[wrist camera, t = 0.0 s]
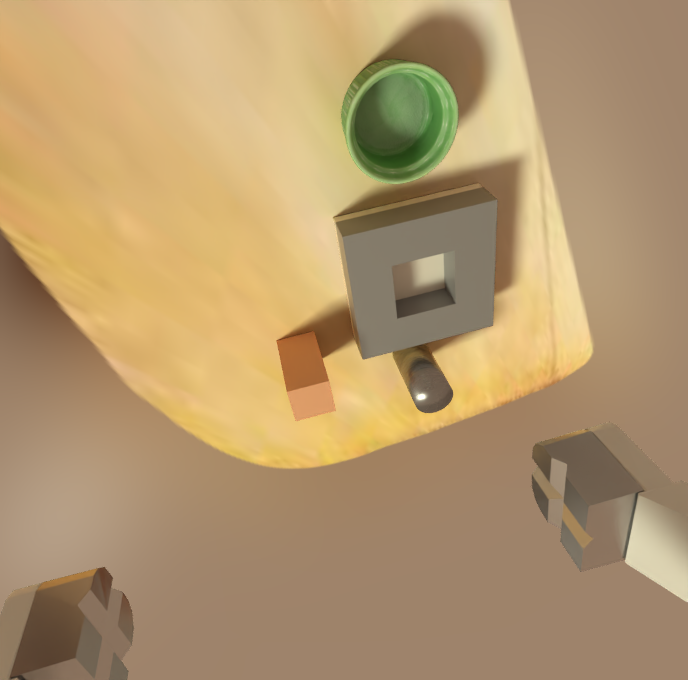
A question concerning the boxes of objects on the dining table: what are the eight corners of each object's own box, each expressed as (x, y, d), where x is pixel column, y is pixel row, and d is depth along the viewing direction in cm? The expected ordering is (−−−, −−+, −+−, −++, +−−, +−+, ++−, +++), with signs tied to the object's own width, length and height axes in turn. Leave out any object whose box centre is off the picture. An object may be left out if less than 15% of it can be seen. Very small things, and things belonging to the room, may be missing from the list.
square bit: (276, 340, 56) (286, 392, 49) (313, 330, 56) (329, 380, 50) (284, 368, 58) (295, 421, 52) (320, 359, 58) (335, 410, 52)
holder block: (332, 217, 49) (342, 237, 46) (478, 183, 50) (497, 199, 47) (353, 336, 57) (362, 359, 54) (477, 304, 59) (493, 325, 55)
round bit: (391, 341, 59) (414, 389, 53) (425, 332, 59) (452, 379, 53) (394, 368, 62) (416, 417, 55) (427, 359, 62) (453, 407, 56)
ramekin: (315, 87, 42) (326, 101, 39) (418, 28, 41) (439, 37, 38) (360, 184, 48) (373, 203, 44) (452, 134, 47) (472, 150, 43)
